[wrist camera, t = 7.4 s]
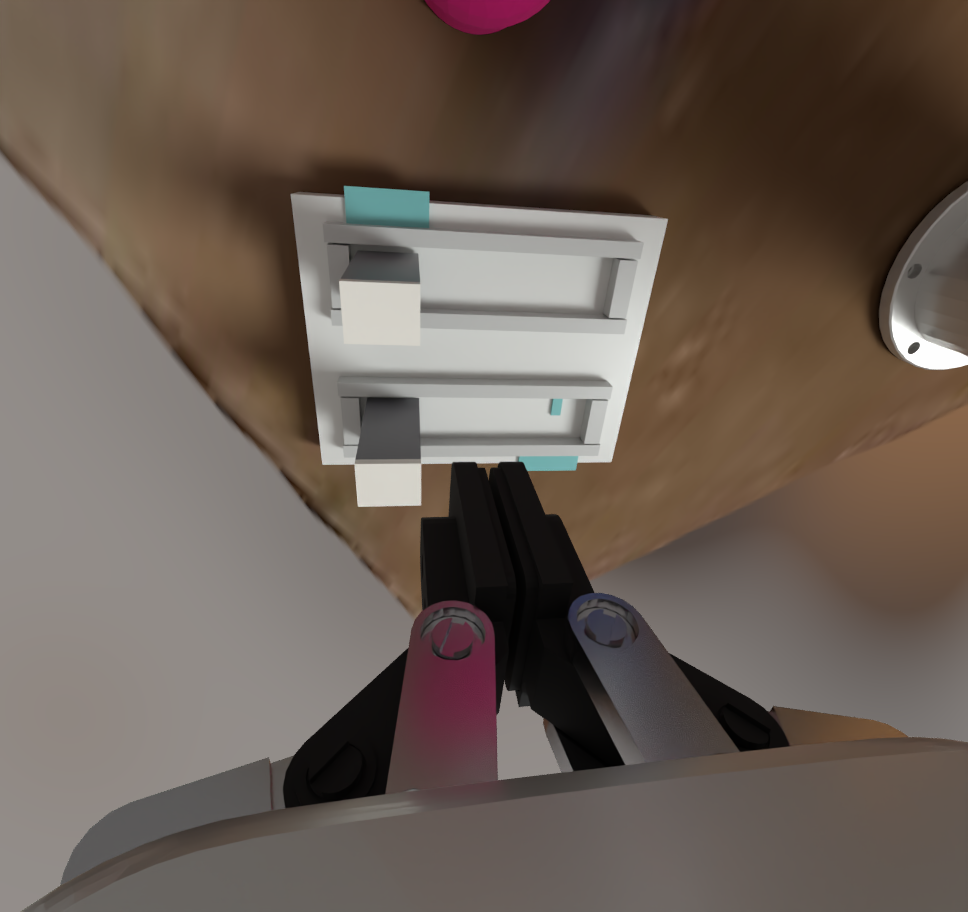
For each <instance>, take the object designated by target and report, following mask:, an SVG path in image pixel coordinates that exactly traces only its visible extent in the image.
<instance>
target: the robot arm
mask: <svg viewBox="0 0 968 912" xmlns="http://www.w3.org/2000/svg"><path fill="white" fill-rule="evenodd" d="M879 327H880V331H881V334H882V338H883V341H884V342H885V344H886V346H887V347H888V349H889V350H890V352H891V353H893V354H894V355H895V356H896V357H897V358H899V359H900V360H902V361H905V362H907V363H909V364H911V365H914V366H916V367H920V368H924V369H928V370H946V369H951V368H957V367H961V366H964V365H967V364H968V181H967V182H965V183H964V184H962V185H961V186H960V187H958V188H957V189H956V190H954V191H953V192H952V193H950V194H949V195H948V196H947V197H945V198H944V199H943V200H942V201H941V202H940V203H939V204H938V205H937V206H936V207H935V208H934V209H933V210H932V211H930V212H929V214H928V215H927V216H926V217H925V218H924V219H923V221H922V222H921V223H920V224H919V225H918V226H917V228H916V229H915V230H914V231H913V232H912V234H911V235H910V237H909V238H908V240H907V241H906V243H905V244H904V246H903V247H902V249H901V250H900V252H899V253H898V255H897V257H896V259H895V261H894V263H893V265H892V267H891V269H890V271H889V274H888V276H887V279H886V282H885V285H884V288H883V291H882V296H881V301H880V307H879ZM420 567H421V591H422V610H423V611H422V612H421V613H420V614H419V615H418V617H417V618H416V619H415V621H414V624H413V627H412V630H411V636H410V642H409V648H408V649H407V650H405V651H404V652H403V653H402V654H401V655H400V656H399V657H398V658H397V659H396V660H395V661H393V662H392V663H391V664H390V665H389V666H388V667H387V668H386V669H385V670H384V671H382V672H381V674H379V675H378V676H377V677H376V678H375V679H374V680H373V681H372V682H371V683H369V684H368V685H367V686H366V687H365V688H364V689H363V690H362V691H361V692H360V693H358V694H357V695H356V696H355V697H354V698H353V699H352V700H351V701H350V702H349V703H348V704H346V705H345V706H344V707H343V708H342V709H341V710H340V711H339V712H338V713H337V714H336V715H334V716H333V717H332V718H331V719H330V720H329V721H328V722H327V723H326V724H325V725H324V726H323V727H322V728H320V729H319V730H318V731H317V732H316V733H315V734H314V735H313V736H311V737H310V738H309V739H308V740H307V741H306V742H305V743H304V744H303V745H302V747H301V748H300V749H299V750H298V751H297V752H296V754H295V755H294V756H291V757H289V758H285V759H283V760H279V761H276V762H273V763H270V759H269V758H265V759H262V760H259V761H256V762H253V763H250V764H247V765H244V766H241V767H238V768H235V769H232V770H229V771H225V772H222V773H219V774H216V775H213V776H210V777H207V778H204V779H201V780H198V781H195V782H192V783H189V784H185V785H183V786H179V787H176V788H173V789H170V790H167V791H164V792H161V793H158V794H155V795H152V796H149V797H146V798H143V799H140V800H136V801H133V802H130V803H128V804H126V805H124V806H122V807H120V808H118V809H116V810H114V811H112V812H110V813H109V814H107V815H106V816H105V817H104V818H103V819H101V820H100V821H99V822H98V823H97V824H95V825H94V826H93V827H92V828H90V829H89V831H88V832H87V833H86V834H85V836H84V837H83V838H82V839H81V841H80V842H79V843H78V845H77V846H76V847H75V849H74V850H73V852H72V854H71V856H70V859H69V861H68V863H67V866H66V868H65V870H64V873H63V877H62V881H61V885H60V886H59V887H57V888H56V889H54V890H53V891H52V892H50V893H48V894H47V895H45V896H44V897H42V898H41V899H39V900H37V901H36V902H34V903H33V904H31V905H30V906H28V907H27V908H25V909H24V910H22V911H21V912H968V742H964V741H957V740H951V739H942V738H926V737H908V736H907V735H906V734H904V733H903V732H901V731H899V730H897V729H895V728H894V727H892V726H890V725H888V724H885V723H882V722H879V721H875V720H871V719H863V718H856V717H848V716H841V715H834V714H827V713H820V712H813V711H805V710H797V709H790V708H783V707H776V706H773V707H772V709H771V710H770V712H768V711H766V710H765V709H764V708H763V707H762V706H760V705H759V704H757V703H756V702H755V701H753V700H752V699H750V698H748V697H747V696H745V695H743V694H741V693H739V692H737V691H736V690H734V689H732V688H730V687H728V686H727V685H725V684H723V683H722V682H720V681H718V680H716V679H714V678H713V677H711V676H709V675H707V674H706V673H704V672H702V671H700V670H698V669H696V668H695V667H693V666H691V665H689V664H688V663H686V662H684V661H682V660H681V659H679V658H677V657H675V656H673V655H672V654H670V653H668V651H667V650H666V649H665V647H664V646H663V644H662V643H661V642H660V640H659V639H658V638H657V636H656V635H655V634H654V632H653V631H652V629H651V628H650V626H649V625H648V624H647V622H646V621H645V620H644V618H643V617H642V615H641V614H640V613H639V612H638V611H637V610H636V609H635V608H634V607H633V606H631V605H630V604H629V603H627V602H626V601H624V600H623V599H620V598H618V597H615V596H613V595H609V594H604V593H594V591H593V588H592V586H591V584H590V582H589V580H588V577H587V575H586V573H585V571H584V569H583V566H582V564H581V562H580V560H579V558H578V555H577V553H576V551H575V549H574V547H573V544H572V542H571V540H570V538H569V536H568V533H567V531H566V529H565V527H564V525H563V522H562V520H561V519H560V517H559V516H558V515H556V514H549V515H545V513H544V510H543V508H542V506H541V503H540V501H539V498H538V496H537V494H536V491H535V489H534V486H533V484H532V481H531V479H530V477H529V474H528V472H527V469H526V467H525V465H524V463H523V462H499V464H498V468H491V469H490V474H489V480H488V477H487V473H486V470H485V468H478V467H477V464H476V462H453V463H452V468H451V484H450V501H449V517H427V518H421V540H420ZM504 680H505V684H506V688H507V690H508V691H512V690H515V691H516V696H517V701H518V704H519V707H522V706H530V707H531V709H532V710H533V711H535V712H536V713H537V714H539V715H540V716H542V717H543V725H544V729H545V733H546V736H547V738H548V741H549V743H550V745H551V748H552V750H553V753H554V755H555V758H556V760H557V763H558V765H559V767H560V770H561V772H562V773H556V774H547V775H539V776H531V777H522V778H515V779H507V780H498V774H497V773H498V772H497V726H496V715H497V714H498V713H499V708H500V703H501V696H502V690H503V684H504Z"/></svg>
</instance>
